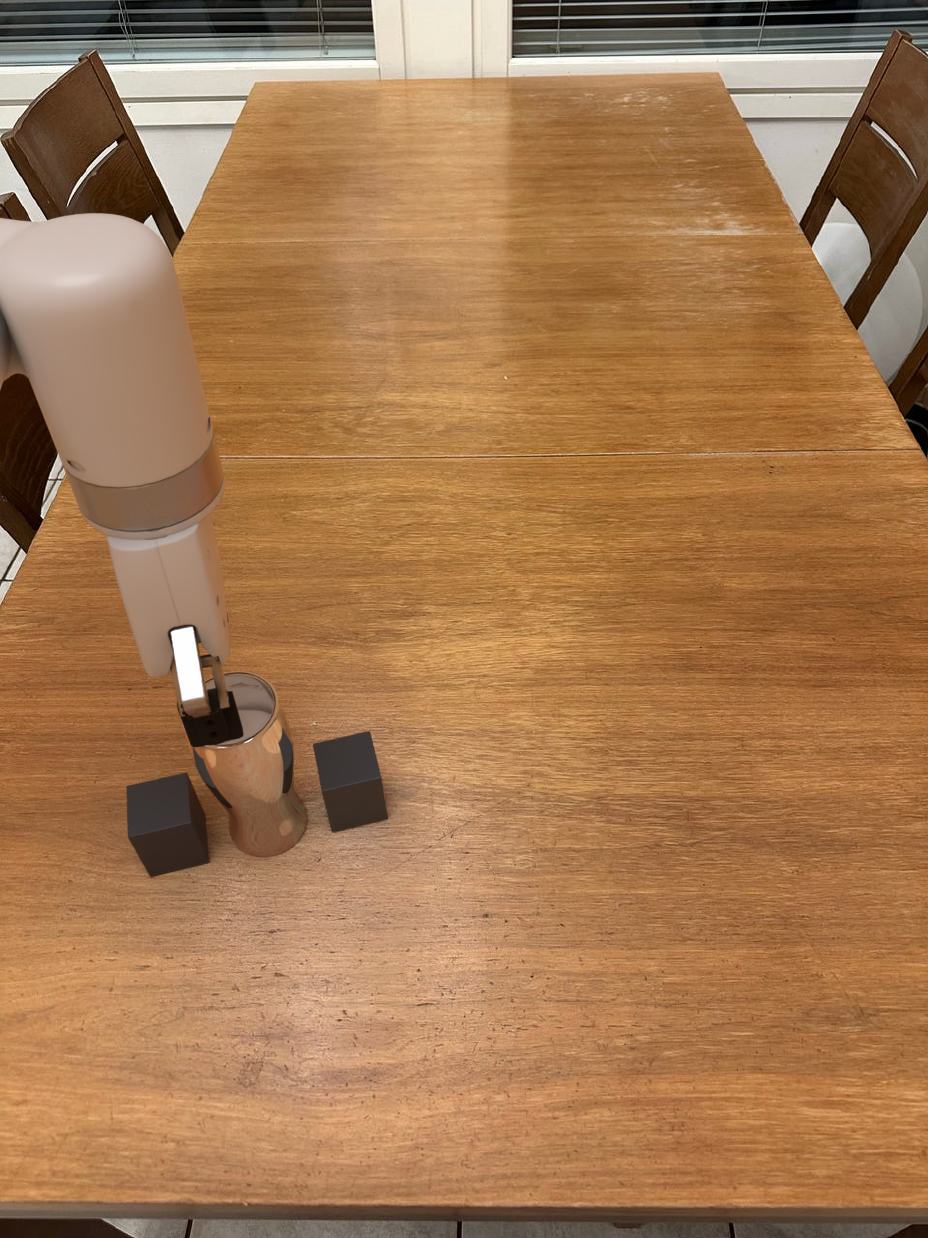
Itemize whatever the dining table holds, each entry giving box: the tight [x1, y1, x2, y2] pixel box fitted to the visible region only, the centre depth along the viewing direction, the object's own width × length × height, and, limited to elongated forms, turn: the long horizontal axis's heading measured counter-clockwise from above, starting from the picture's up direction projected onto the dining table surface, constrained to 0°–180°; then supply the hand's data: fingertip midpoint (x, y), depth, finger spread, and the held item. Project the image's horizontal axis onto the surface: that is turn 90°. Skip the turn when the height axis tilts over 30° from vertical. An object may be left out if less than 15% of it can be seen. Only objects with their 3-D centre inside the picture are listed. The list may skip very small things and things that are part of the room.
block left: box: [125, 772, 210, 878], centre depth 71 cm, size 4×4×6 cm
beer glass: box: [180, 670, 308, 858], centre depth 69 cm, size 7×7×15 cm
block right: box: [312, 730, 389, 833], centre depth 74 cm, size 4×4×6 cm
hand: (211, 679), depth 61 cm, fingers open, 9 cm apart
